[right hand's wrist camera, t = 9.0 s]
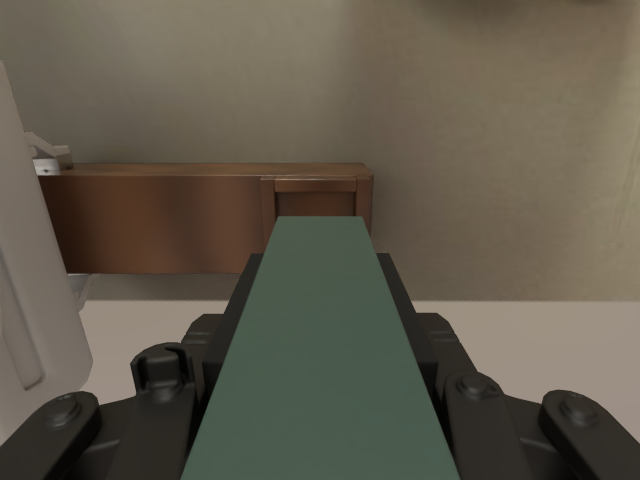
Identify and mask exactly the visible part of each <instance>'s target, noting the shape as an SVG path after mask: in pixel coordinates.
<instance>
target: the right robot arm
mask: <svg viewBox="0 0 640 480" xmlns="http://www.w3.org/2000/svg"><path fill="white" fill-rule="evenodd" d="M263 255H264V253H251V255H250V257H249V259H248V262H247V264H246V266H245V268H244V270H243V272H242V275H241V277H240V279H239V281H238V283H237V286H236V288H235V290H234V292H233V294H232V296H231V299H230V301H229V303H228V305H227V307H226V310H225V312H224V314H203V315H202V316H200V317H199V318H198V319H196V320H195V321H194V322H192V324H191V325H190V327H189V329H188V331H187V332H186V335H185V336H184V338H183V339H182V341H181V343H178V342H167V343H162V344H157V345H154V346H152V347H149V348H147V349H145V350H143V351H142V352H141V353H139V354H138V355H137V356H135V358H134V359H133V360H132V362H131V363H130V366H131V370H132V375H133V379H134V384H135V388H136V396H134V397H131V398H127V399H124V400H120V401H116V402H111V403H107V404H103V405H99V403H98V399H97V397H96V396H94V395H93V394H92V393H89V392H84V391H79V392H70V393H67V394H64V395H61V396H58V397H56V398H54V399H52V400H50V401H48V402H47V403H45V404H43V405H42V406H41V407H40V408H38V409H37V410H36V411H35V412H33V413H32V414H31V416H30V417H29V418H28V419H27V420H26V421H25V422H24V423H23V424H22V425H21V426H20V427H19V428H18V429H17V430H16V431H15V432H14V433H13V434H12V435H11V436H10V437H9V438H8V439H7V440H6V441H5V442H4V443H3V444H2V445H1V446H0V480H180V479H181V476H182V474H183V471H184V468H185V465H186V463H187V460H188V457H189V455H190V452H191V449H192V447H193V444H194V441H195V439H196V436H197V433H198V430H199V428H200V425H201V422H202V420H203V417H204V414H205V412H206V409H207V406H208V404H209V401H210V398H211V395H212V393H213V390H214V387H215V385H216V382H217V379H218V377H219V374H220V371H221V368H222V366H223V363H224V360H225V358H226V355H227V352H228V350H229V347H230V344H231V342H232V339H233V336H234V333H235V331H236V328H237V325H238V323H239V320H240V317H241V315H242V312H243V309H244V307H245V304H246V301H247V298H248V296H249V293H250V290H251V288H252V285H253V282H254V280H255V277H256V274H257V272H258V269H259V266H260V263H261V261H262V258H263ZM376 255H377V258H378V260H379V263H380V266H381V268H382V271H383V274H384V276H385V279H386V282H387V284H388V287H389V290H390V292H391V295H392V298H393V300H394V303H395V306H396V308H397V311H398V314H399V316H400V319H401V322H402V324H403V327H404V330H405V332H406V335H407V338H408V340H409V343H410V346H411V348H412V351H413V354H414V356H415V359H416V362H417V364H418V367H419V370H420V372H421V375H422V378H423V380H424V383H425V386H426V388H427V391H428V394H429V396H430V399H431V402H432V404H433V407H434V410H435V412H436V415H437V418H438V420H439V423H440V426H441V429H442V431H443V434H444V437H445V439H446V442H447V445H448V447H449V450H450V453H451V455H452V458H453V461H454V463H455V466H456V469H457V471H458V474H459V477H460V479H461V480H640V444H639V443H638V442H637V441H636V440H635V439H634V438H633V437H632V435H631V434H630V433H629V432H628V431H627V430H626V429H625V428H624V427H623V426H622V425H621V424H620V423H619V422H618V421H617V420H616V419H615V418H614V417H613V416H612V415H611V414H610V413H609V412H608V411H607V410H606V409H604V408H603V407H602V406H601V405H599V404H598V403H597V402H595V401H593V400H591V399H590V398H588V397H586V396H584V395H581V394H578V393H575V392H572V391H566V390H554V391H549V392H548V393H547V394H546V395H545V396H544V397H543V401H542V404H539V403H535V402H531V401H527V400H522V399H518V398H514V397H511V396H508V395H505V394H504V393H503V391H502V389H501V388H500V386H499V385H498V384H497V383H496V382H495V381H494V380H492V379H491V378H490V377H488V376H486V375H484V374H482V373H480V372H478V371H477V370H476V368H475V366H474V365H473V363H472V361H471V359H470V358H469V356H468V354H467V353H466V351H465V349H464V348H463V346H462V344H461V343H460V342H459V339H458V337H457V336H456V334H454V330H453V329H452V327H451V325H450V324H449V322H448V321H447V320H446V319H444V318H443V317H442V316H440V315H439V314H438V313H416V311H415V309H414V307H413V305H412V303H411V300H410V298H409V296H408V294H407V292H406V289H405V287H404V285H403V283H402V281H401V279H400V276H399V274H398V272H397V270H396V268H395V265H394V263H393V261H392V259H391V257H390V255H389V253H376Z"/></svg>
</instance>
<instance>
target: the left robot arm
mask: <svg viewBox="0 0 640 480" xmlns="http://www.w3.org/2000/svg"><path fill="white" fill-rule="evenodd" d="M67 168H74V165H73V161H72V157H71V153H70V149H69V146H52V145H51V144H49V143H48V142H46V141H45V140H43V139H41V138H40V137H38V136H37V135H35V134H34V133H32V132H24V130H23V127H22V123H21V120H20V117H19V113H18V110H17V107H16V103H15V100H14V97H13V94H12V90H11V87H10V84H9V80H8V76H7V73H6V69H5V66H4V64H3V62H2V60H1V59H0V446H1V445H2V444H3V443H4V442H5V441H6V440H7V439H8V438H9V437H10V436H11V435H12V434H13V433H14V432H15V431H16V430H17V429H18V428H19V427H20V426H21V425H22V424H23V423H24V422H25V421H26V420H27V419H28V418H29V417H30V416H31V414H32V413H33V412H35V411H36V410H37V409H38V408H40V407H41V406H42V405H43V404H45V403H47V402H48V401H50V400H52V399H54V398H56V397H58V396H61V395H64V394H67V393H70V392H78V391H79V390H80V389H81V388H82V387H83V385H84V384H85V383H86V381H87V380H88V377H89V374H90V371H91V367H92V363H93V359H92V355H91V352H90V349H89V345H88V342H87V339H86V336H85V332H84V329H83V326H82V322H81V319H80V316H79V311H80V310H81V309H82V308H83V307H84V304H85V301H86V298H87V295H88V293H89V290H90V287H91V282H92V281H93V280H95V279H96V278H97V277H98V276H100V275H101V274H67V273H66V269H65V266H64V263H63V259H62V256H61V253H60V249H59V246H58V243H57V239H56V236H55V233H54V229H53V226H52V223H51V219H50V216H49V213H48V209H47V206H46V203H45V200H44V196H43V193H42V190H41V186H40V183H39V180H38V176H37V173H36V171H46V170H48V171H62V170H67Z"/></svg>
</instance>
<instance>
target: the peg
mask: <svg viewBox="0 0 640 480" xmlns="http://www.w3.org/2000/svg"><path fill="white" fill-rule="evenodd" d="M180 480H461V479H460V477H459V474H458V471H457V469H456V466H455V463H454V461H453V458H452V455H451V453H450V450H449V447H448V445H447V442H446V439H445V437H444V434H443V431H442V429H441V426H440V423H439V420H438V418H437V415H436V412H435V410H434V407H433V404H432V402H431V399H430V396H429V394H428V391H427V388H426V386H425V383H424V380H423V378H422V375H421V372H420V370H419V367H418V364H417V362H416V359H415V356H414V354H413V351H412V348H411V346H410V343H409V340H408V338H407V335H406V332H405V330H404V327H403V324H402V322H401V319H400V316H399V314H398V311H397V308H396V306H395V303H394V300H393V298H392V295H391V292H390V290H389V287H388V284H387V282H386V279H385V276H384V274H383V271H382V268H381V266H380V263H379V260H378V258H377V255H376V252H375V249H374V247H373V244H372V241H371V239H370V236H369V233H368V231H367V228H366V225H365V223H364V220H363V217H362V216H279V217H278V218H277V220H276V223H275V226H274V228H273V231H272V234H271V236H270V239H269V242H268V245H267V247H266V250H265V253H264V255H263V258H262V261H261V263H260V266H259V269H258V272H257V274H256V277H255V280H254V282H253V285H252V288H251V290H250V293H249V296H248V298H247V301H246V304H245V307H244V309H243V312H242V315H241V317H240V320H239V323H238V325H237V328H236V331H235V333H234V336H233V339H232V342H231V344H230V347H229V350H228V352H227V355H226V358H225V360H224V363H223V366H222V368H221V371H220V374H219V377H218V379H217V382H216V385H215V387H214V390H213V393H212V395H211V398H210V401H209V404H208V406H207V409H206V412H205V414H204V417H203V420H202V422H201V425H200V428H199V430H198V433H197V436H196V439H195V441H194V444H193V447H192V449H191V452H190V455H189V457H188V460H187V463H186V465H185V468H184V471H183V474H182V476H181V479H180Z"/></svg>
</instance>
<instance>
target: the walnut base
mask: <svg viewBox="0 0 640 480" xmlns="http://www.w3.org/2000/svg"><path fill="white" fill-rule="evenodd" d="M73 165H74V168H67V170H62V171H48V170H46V171H36V173H37V176H38V180H39V183H40V186H41V190H42V193H43V196H44V200H45V203H46V206H47V209H48V213H49V216H50V219H51V223H52V226H53V229H54V233H55V236H56V239H57V243H58V246H59V249H60V253H61V256H62V259H63V263H64V266H65V269H66V273H67V274H163V273H242V272H243V270H244V268H245V266H246V264H247V262H248V259H249V257H250V255H251V253H265V250H266V247H267V245H268V242H269V239H270V236H271V234H272V231H273V228H274V226H275V223H276V220H277V218H278V217H279V216H362V217H363V220H364V223H365V225H366V228H367V231H368V233H369V236H370V233H371V213H372V193H373V174H372V173H371V172H370V171H369V170H368V168H367V167H366V166H365V165H364V164H363V163H129V164H73Z"/></svg>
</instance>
